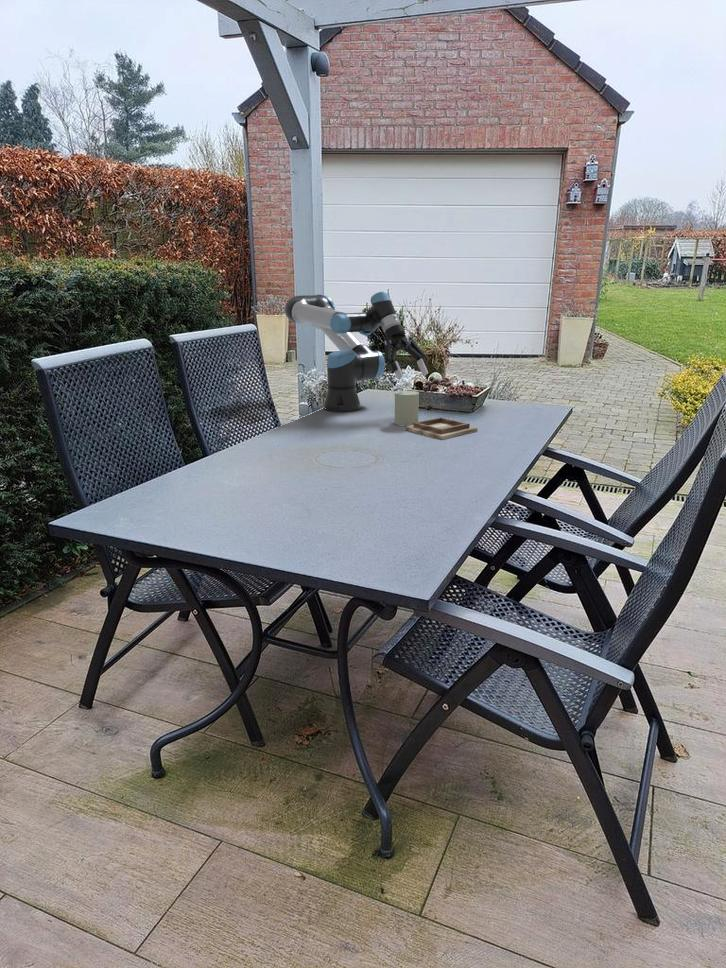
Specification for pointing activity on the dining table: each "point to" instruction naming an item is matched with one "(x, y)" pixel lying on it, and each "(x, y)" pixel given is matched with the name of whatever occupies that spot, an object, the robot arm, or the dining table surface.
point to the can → (406, 407)
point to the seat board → (441, 428)
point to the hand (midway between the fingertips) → (413, 376)
